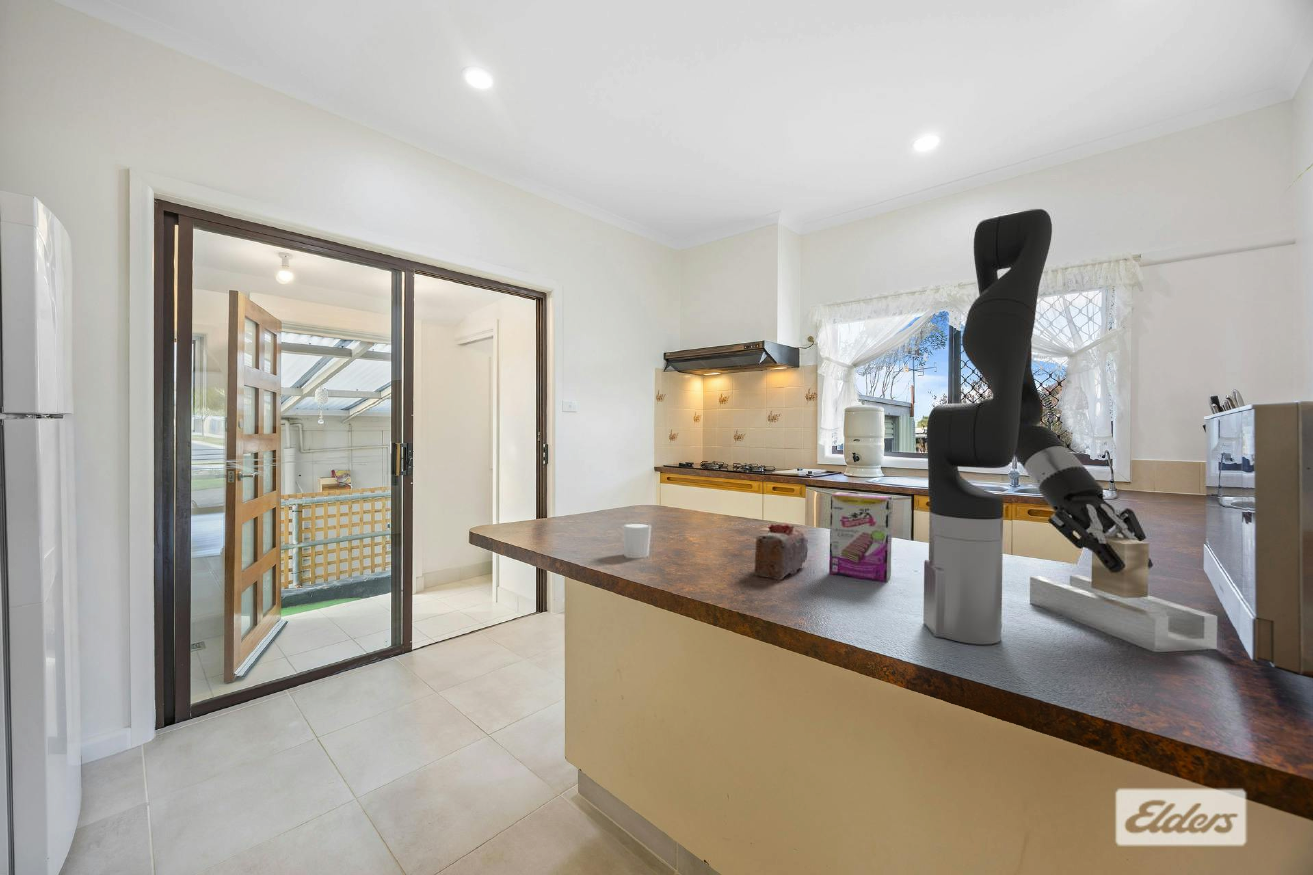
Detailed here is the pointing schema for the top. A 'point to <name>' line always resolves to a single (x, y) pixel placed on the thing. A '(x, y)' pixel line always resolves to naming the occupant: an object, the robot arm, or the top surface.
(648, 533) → the white cylinder
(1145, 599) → the rail
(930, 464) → the robot arm
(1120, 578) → the oak block
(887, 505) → the candy bar box
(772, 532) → the food item
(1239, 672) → the top surface
